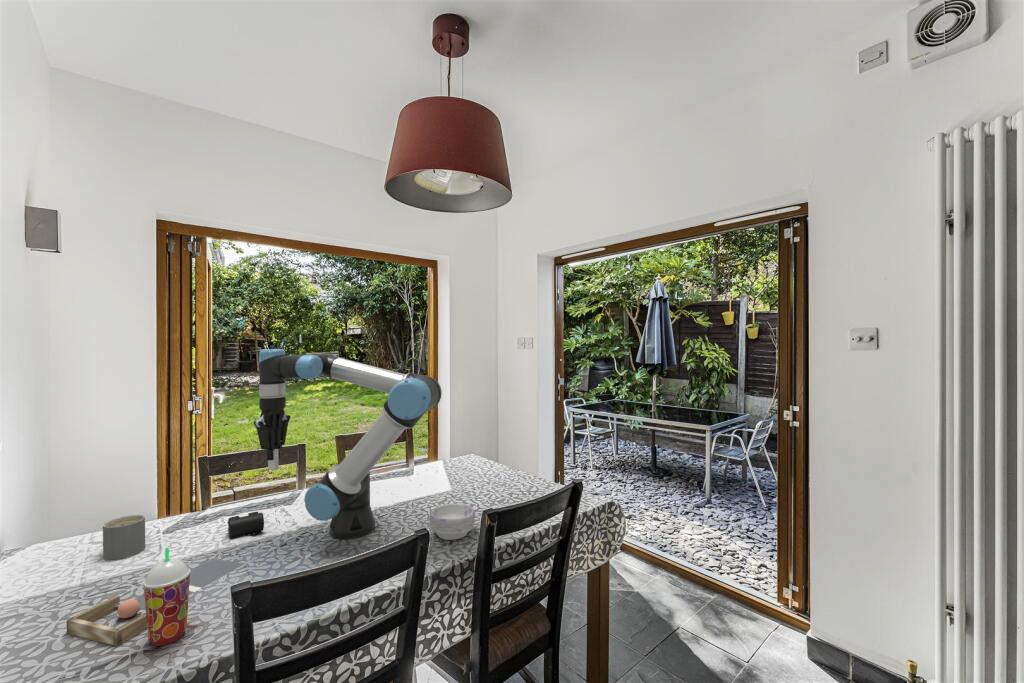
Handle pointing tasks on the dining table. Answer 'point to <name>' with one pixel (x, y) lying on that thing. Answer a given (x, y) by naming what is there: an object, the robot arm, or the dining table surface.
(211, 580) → the lane
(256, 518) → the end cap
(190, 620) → the dining table surface
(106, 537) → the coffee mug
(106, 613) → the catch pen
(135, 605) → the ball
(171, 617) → the smoothie
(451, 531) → the paper bowls
